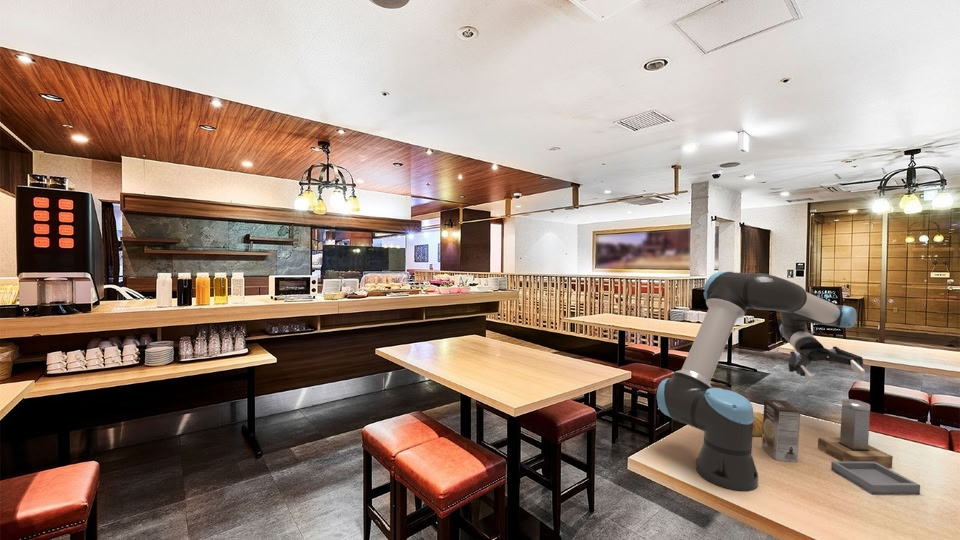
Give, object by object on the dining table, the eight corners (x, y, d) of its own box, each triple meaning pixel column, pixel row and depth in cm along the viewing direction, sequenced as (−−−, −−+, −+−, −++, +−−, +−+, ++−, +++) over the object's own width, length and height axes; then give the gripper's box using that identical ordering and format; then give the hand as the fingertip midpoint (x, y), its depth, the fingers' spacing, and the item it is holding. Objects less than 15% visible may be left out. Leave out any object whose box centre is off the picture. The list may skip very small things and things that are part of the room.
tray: (872, 494, 105) (872, 485, 105) (831, 469, 117) (831, 461, 117) (919, 494, 106) (920, 485, 105) (874, 469, 118) (874, 461, 117)
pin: (852, 462, 121) (855, 406, 121) (833, 452, 128) (836, 398, 127) (873, 462, 121) (876, 406, 121) (853, 452, 128) (856, 398, 127)
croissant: (737, 447, 138) (748, 432, 134) (716, 423, 146) (725, 408, 142) (784, 439, 143) (795, 424, 139) (761, 416, 152) (771, 402, 148)
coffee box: (760, 446, 131) (762, 398, 131) (782, 448, 130) (784, 400, 129) (775, 460, 122) (777, 409, 122) (799, 462, 121) (801, 411, 120)
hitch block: (852, 467, 118) (853, 456, 118) (817, 448, 130) (818, 437, 130) (891, 467, 119) (892, 456, 119) (853, 448, 131) (854, 437, 131)
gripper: (850, 349, 142) (888, 382, 122) (768, 359, 151) (791, 391, 132) (847, 331, 140) (885, 361, 121) (765, 341, 149) (788, 371, 130)
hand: (836, 377), depth 126 cm, fingers open, 13 cm apart
